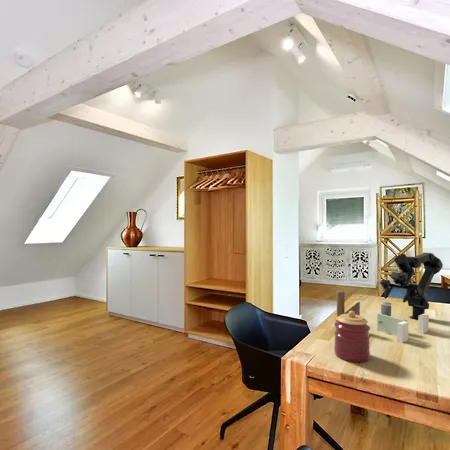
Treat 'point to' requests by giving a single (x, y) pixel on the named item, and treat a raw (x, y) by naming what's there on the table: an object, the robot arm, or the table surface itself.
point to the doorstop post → (386, 308)
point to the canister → (352, 337)
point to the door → (388, 324)
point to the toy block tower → (341, 305)
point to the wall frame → (422, 327)
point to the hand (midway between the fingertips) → (393, 300)
